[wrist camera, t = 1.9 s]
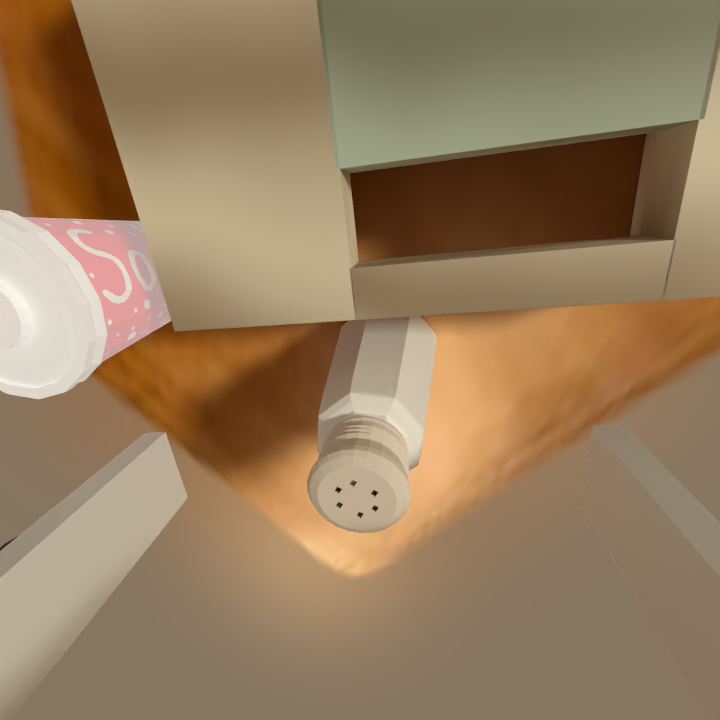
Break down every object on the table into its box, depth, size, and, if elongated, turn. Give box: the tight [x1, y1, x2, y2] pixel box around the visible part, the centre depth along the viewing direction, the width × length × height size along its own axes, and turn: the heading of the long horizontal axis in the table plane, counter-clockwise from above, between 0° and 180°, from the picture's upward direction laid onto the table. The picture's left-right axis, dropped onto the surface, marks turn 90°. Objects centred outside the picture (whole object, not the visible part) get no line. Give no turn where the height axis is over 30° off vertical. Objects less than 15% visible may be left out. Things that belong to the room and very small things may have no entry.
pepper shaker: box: [308, 316, 437, 533], centre depth 15 cm, size 5×5×11 cm
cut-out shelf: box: [71, 0, 720, 332], centre depth 11 cm, size 14×20×8 cm
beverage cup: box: [0, 210, 171, 399], centre depth 13 cm, size 6×6×14 cm
